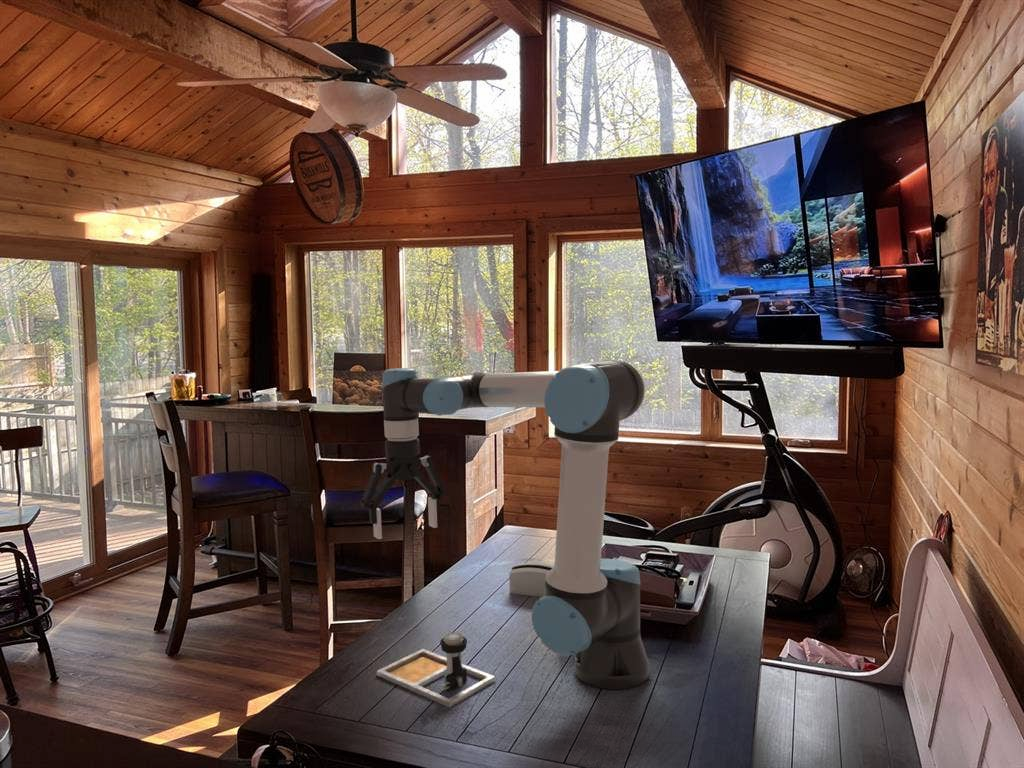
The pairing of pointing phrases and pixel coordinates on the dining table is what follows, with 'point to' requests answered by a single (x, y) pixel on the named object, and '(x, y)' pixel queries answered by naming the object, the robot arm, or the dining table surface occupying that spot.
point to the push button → (454, 660)
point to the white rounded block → (529, 578)
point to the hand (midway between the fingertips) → (406, 532)
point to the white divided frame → (429, 676)
